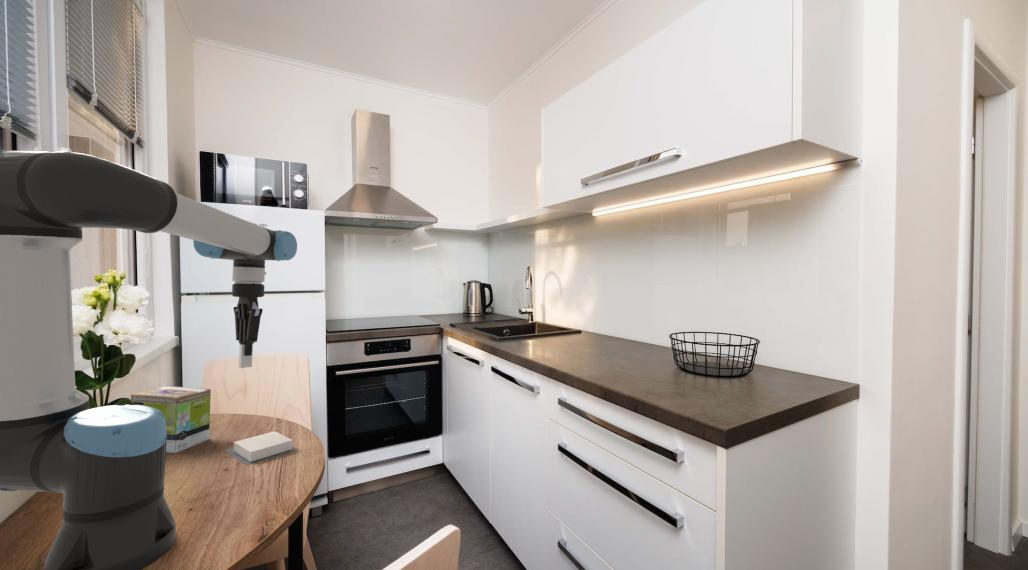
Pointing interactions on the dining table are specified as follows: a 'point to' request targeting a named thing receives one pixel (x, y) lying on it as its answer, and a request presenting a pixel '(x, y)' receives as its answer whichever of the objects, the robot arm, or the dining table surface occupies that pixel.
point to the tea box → (180, 414)
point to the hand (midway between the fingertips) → (245, 366)
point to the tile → (262, 446)
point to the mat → (246, 462)
